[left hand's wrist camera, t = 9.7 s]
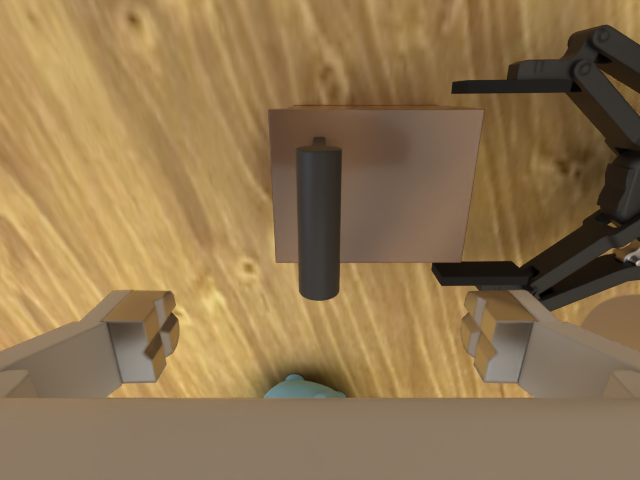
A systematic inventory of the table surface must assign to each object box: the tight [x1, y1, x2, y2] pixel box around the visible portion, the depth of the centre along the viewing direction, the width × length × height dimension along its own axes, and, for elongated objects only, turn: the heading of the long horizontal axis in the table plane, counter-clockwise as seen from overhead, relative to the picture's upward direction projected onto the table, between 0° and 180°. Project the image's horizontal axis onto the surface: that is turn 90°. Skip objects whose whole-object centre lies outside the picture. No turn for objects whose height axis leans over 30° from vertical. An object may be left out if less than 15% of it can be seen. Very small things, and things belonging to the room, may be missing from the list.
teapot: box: [263, 374, 346, 398], centre depth 37 cm, size 13×14×11 cm
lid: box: [268, 109, 484, 301], centre depth 20 cm, size 13×10×8 cm
